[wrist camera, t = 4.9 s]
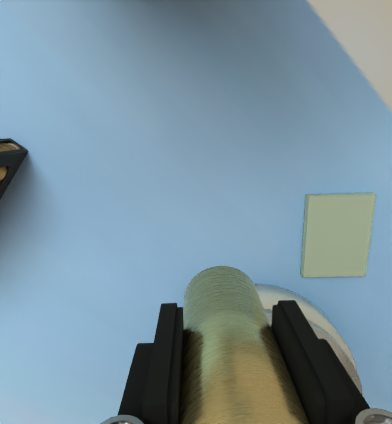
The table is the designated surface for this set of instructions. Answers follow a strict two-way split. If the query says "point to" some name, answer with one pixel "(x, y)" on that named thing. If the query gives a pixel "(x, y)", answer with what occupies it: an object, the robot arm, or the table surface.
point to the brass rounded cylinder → (232, 356)
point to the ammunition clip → (9, 161)
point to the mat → (337, 234)
